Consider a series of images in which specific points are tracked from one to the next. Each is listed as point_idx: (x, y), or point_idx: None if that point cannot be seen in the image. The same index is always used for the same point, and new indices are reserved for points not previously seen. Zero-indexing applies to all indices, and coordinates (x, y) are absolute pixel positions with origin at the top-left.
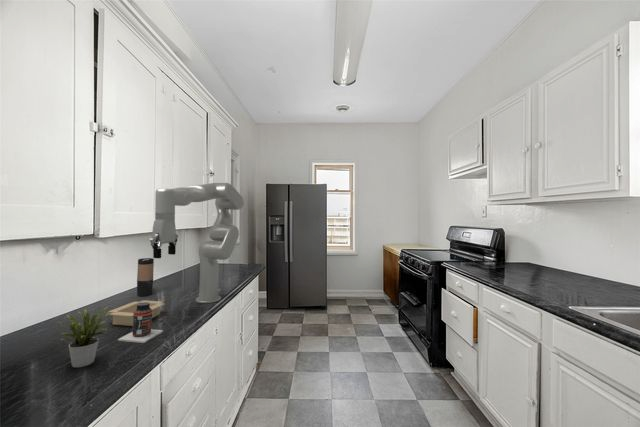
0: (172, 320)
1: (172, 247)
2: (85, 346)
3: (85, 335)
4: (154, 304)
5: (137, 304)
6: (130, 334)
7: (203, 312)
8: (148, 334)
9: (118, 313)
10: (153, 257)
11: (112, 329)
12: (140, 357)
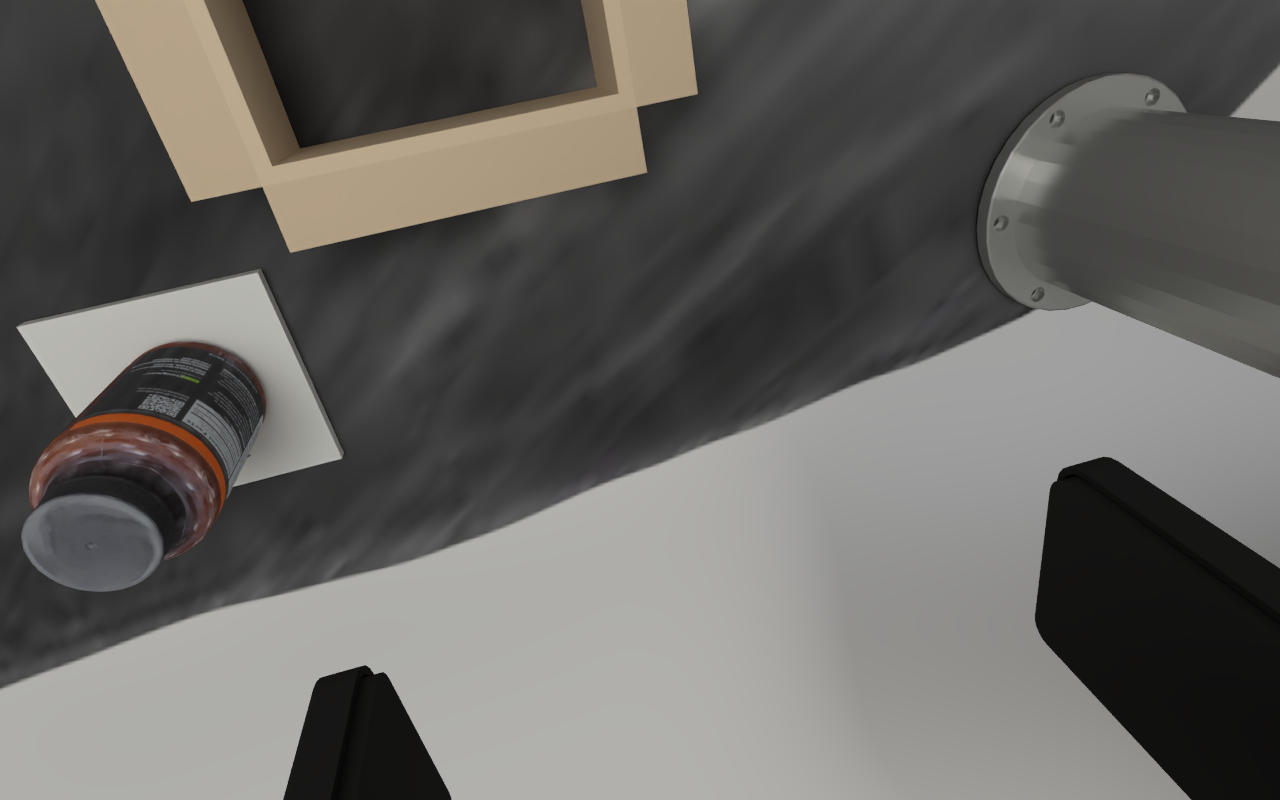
0: (543, 329)
1: (1238, 784)
2: None
3: None
4: (607, 45)
5: (25, 526)
6: (134, 328)
7: (774, 396)
8: None
9: None
10: (317, 688)
11: (105, 22)
12: (21, 643)
